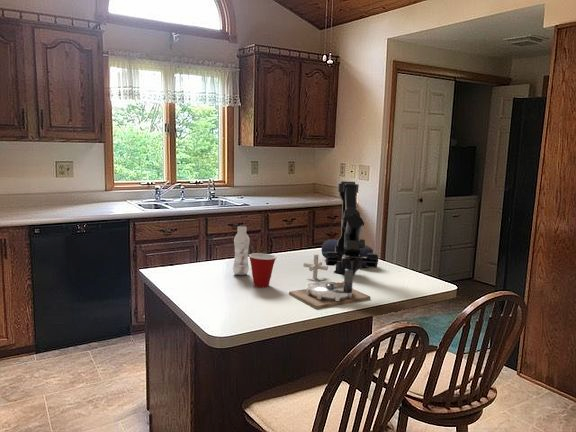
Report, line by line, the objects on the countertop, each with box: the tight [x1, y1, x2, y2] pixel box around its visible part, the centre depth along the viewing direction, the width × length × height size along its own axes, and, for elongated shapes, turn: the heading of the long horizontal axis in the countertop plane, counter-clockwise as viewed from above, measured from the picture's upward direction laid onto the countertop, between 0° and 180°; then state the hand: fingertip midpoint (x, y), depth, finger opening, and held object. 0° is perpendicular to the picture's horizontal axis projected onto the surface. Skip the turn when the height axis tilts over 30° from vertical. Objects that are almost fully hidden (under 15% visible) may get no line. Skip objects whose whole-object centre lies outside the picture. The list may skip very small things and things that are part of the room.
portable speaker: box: [321, 239, 374, 268], centre depth 224 cm, size 25×10×10 cm, turn 53°
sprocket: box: [306, 269, 354, 301], centre depth 174 cm, size 17×17×10 cm
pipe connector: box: [303, 253, 329, 280], centre depth 197 cm, size 10×10×10 cm
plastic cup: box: [248, 252, 277, 288], centre depth 184 cm, size 11×11×12 cm
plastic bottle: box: [232, 225, 251, 276], centre depth 196 cm, size 6×7×20 cm
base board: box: [288, 280, 371, 310], centre depth 174 cm, size 24×17×3 cm
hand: (351, 280), depth 171 cm, fingers closed, pressing on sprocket
